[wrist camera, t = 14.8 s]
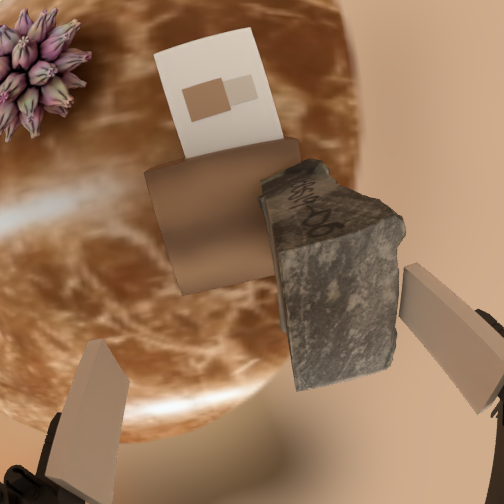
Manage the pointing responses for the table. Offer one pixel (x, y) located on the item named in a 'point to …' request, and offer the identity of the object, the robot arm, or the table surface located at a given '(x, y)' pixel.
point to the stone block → (332, 274)
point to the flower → (37, 71)
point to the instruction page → (218, 93)
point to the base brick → (218, 213)
